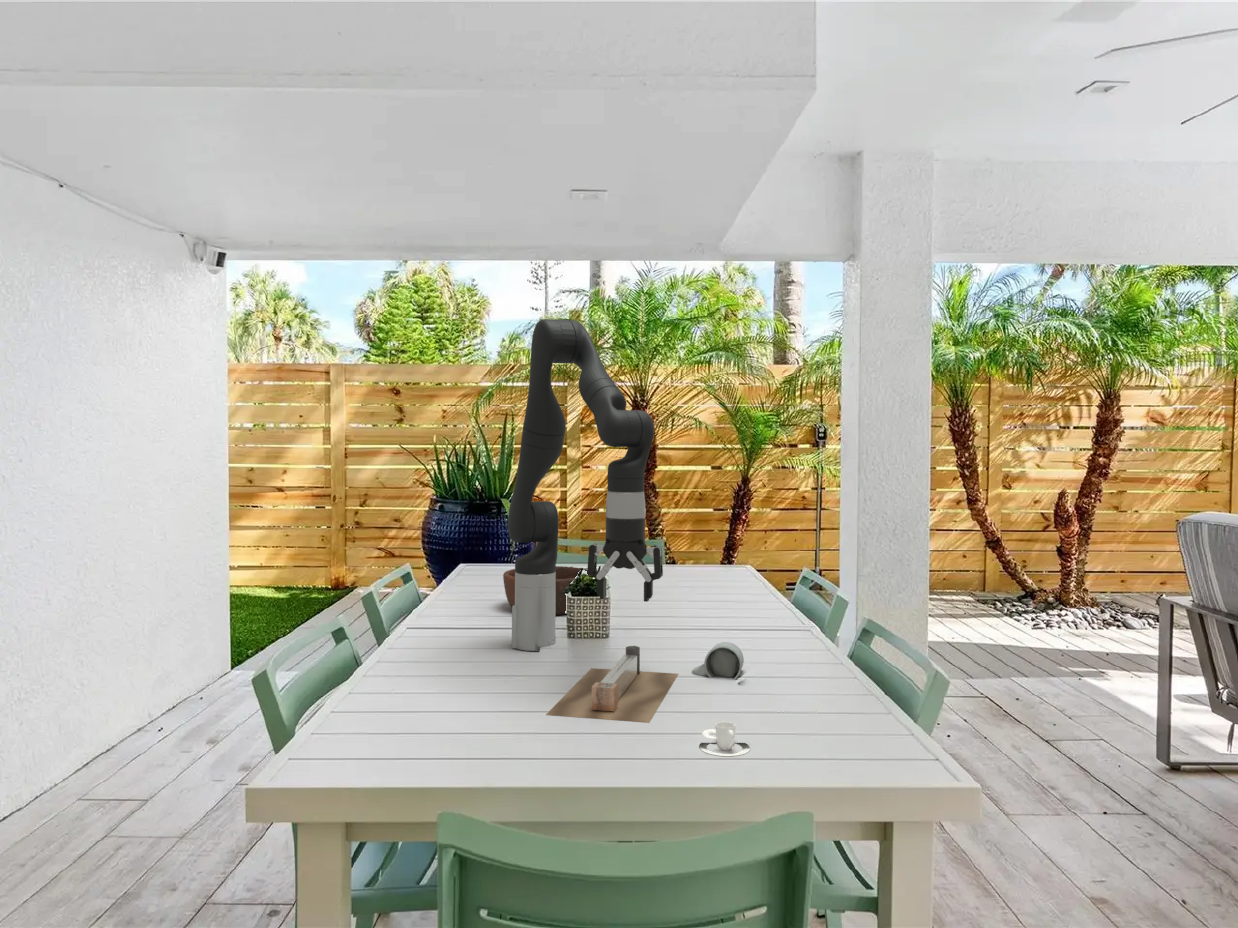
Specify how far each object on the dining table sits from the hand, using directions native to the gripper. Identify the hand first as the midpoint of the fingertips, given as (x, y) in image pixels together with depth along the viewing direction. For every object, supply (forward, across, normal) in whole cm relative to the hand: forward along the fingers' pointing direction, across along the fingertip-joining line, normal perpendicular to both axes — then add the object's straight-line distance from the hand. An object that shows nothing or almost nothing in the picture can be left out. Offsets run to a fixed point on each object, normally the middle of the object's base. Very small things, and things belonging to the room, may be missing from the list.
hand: (624, 599), depth 178 cm
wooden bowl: (+18, -37, +73) cm, 84 cm away
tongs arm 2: (+16, +1, -6) cm, 17 cm away
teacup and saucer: (+18, +24, -26) cm, 39 cm away
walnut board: (+17, 0, -6) cm, 18 cm away
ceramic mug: (+18, +17, +12) cm, 27 cm away
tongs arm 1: (+16, -1, -6) cm, 17 cm away
